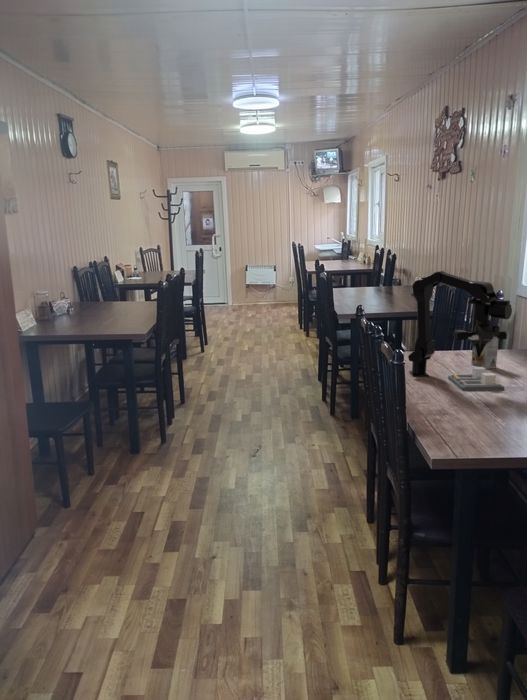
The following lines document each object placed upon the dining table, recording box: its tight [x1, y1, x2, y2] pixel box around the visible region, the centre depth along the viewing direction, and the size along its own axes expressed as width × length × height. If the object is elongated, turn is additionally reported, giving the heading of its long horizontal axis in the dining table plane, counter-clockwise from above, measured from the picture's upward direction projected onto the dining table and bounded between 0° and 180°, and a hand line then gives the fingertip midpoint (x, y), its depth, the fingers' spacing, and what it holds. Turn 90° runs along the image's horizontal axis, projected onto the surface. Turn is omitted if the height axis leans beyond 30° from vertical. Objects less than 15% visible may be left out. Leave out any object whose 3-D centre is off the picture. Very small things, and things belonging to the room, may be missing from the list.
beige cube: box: [481, 372, 497, 384], centre depth 216 cm, size 4×4×4 cm
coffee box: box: [471, 337, 500, 370], centre depth 246 cm, size 9×6×16 cm
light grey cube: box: [471, 366, 487, 378], centre depth 225 cm, size 4×4×4 cm
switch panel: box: [447, 373, 505, 392], centre depth 221 cm, size 16×16×2 cm
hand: (478, 356), depth 215 cm, fingers closed
